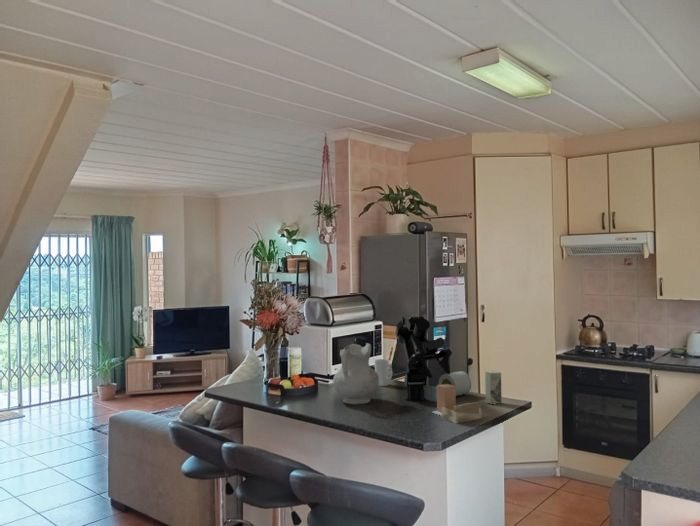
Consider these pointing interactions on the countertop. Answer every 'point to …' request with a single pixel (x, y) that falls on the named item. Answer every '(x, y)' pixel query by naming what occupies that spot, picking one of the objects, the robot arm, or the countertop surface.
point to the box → (493, 387)
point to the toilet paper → (457, 382)
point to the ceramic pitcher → (356, 375)
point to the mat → (437, 413)
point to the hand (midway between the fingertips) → (440, 375)
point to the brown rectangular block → (445, 397)
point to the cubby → (463, 412)
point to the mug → (383, 371)
